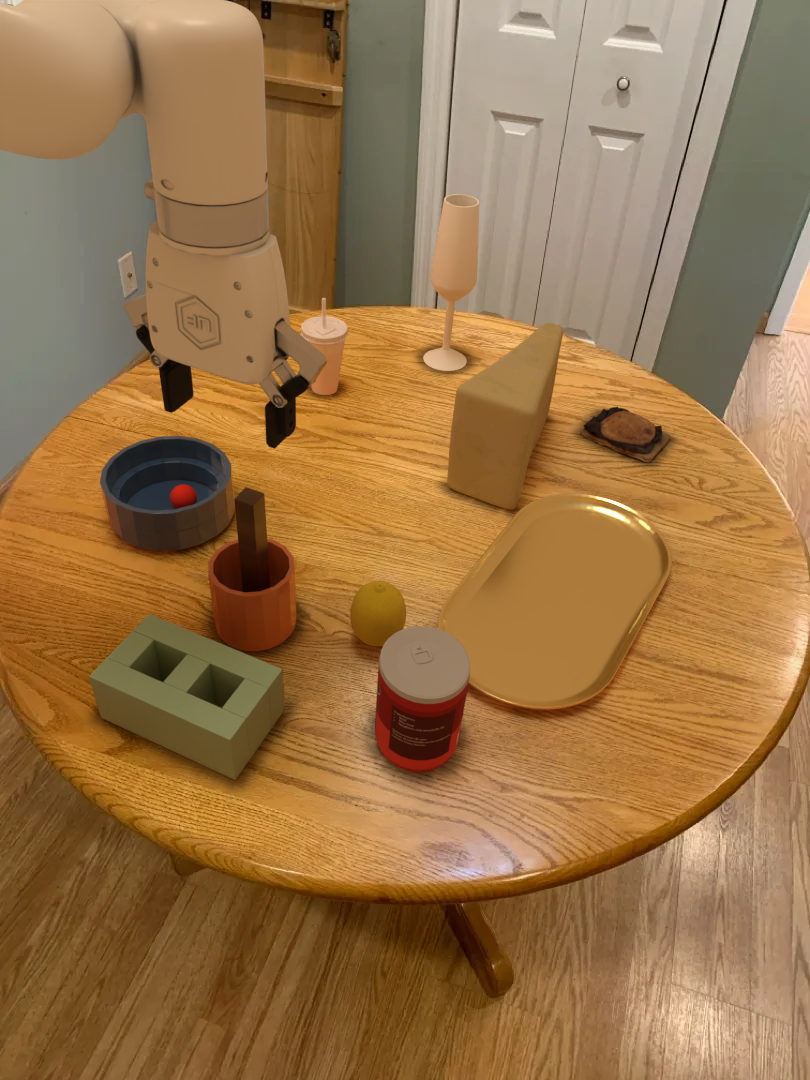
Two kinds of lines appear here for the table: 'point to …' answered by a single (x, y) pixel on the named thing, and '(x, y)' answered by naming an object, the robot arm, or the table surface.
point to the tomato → (183, 496)
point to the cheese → (503, 419)
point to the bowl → (168, 492)
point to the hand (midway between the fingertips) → (229, 421)
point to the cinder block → (189, 694)
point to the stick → (252, 540)
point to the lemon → (377, 612)
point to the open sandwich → (626, 433)
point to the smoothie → (326, 348)
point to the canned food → (420, 697)
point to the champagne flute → (454, 269)
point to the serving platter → (557, 600)
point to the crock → (253, 599)
